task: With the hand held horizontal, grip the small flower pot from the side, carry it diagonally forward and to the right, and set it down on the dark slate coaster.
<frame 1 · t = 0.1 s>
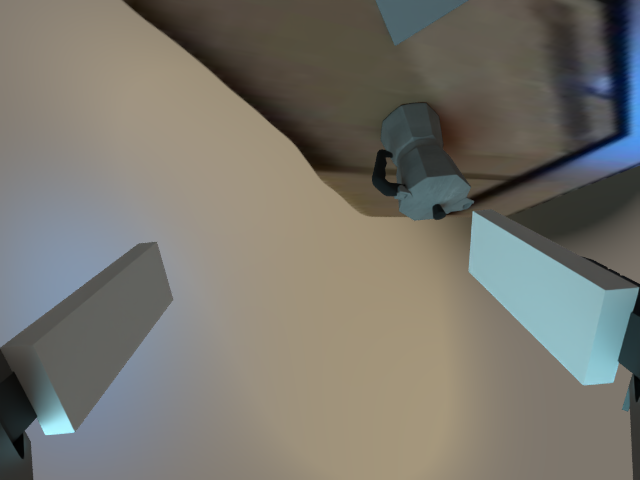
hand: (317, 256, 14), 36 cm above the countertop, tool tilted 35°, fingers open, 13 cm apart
coffeepot: (402, 124, 53), on the countertop
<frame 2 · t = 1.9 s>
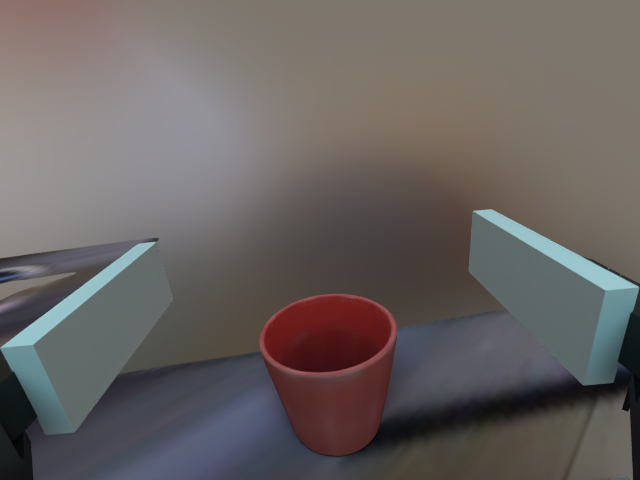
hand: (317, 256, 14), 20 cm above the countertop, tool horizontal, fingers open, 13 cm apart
flower pot: (336, 418, 30), on the countertop
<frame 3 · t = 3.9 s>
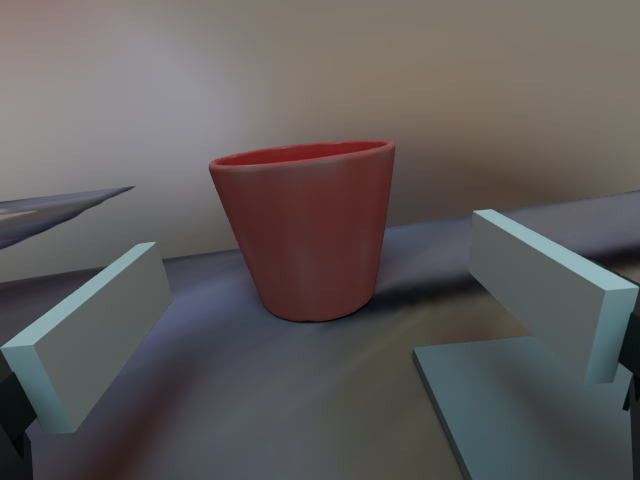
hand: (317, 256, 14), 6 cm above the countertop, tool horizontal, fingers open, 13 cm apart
flower pot: (317, 294, 24), on the countertop
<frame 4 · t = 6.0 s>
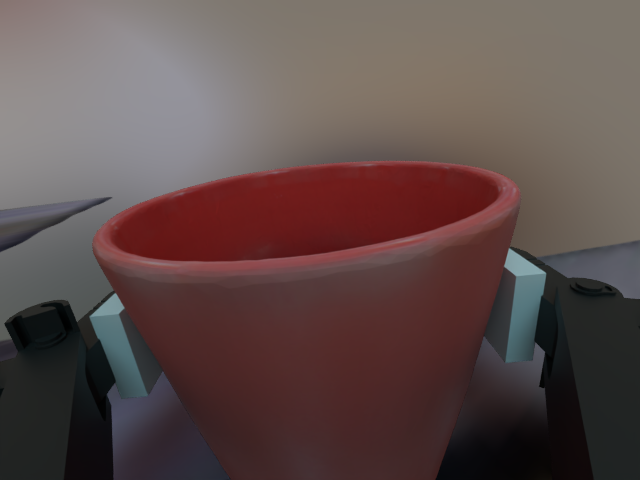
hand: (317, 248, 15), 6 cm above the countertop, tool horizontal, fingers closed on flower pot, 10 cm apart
flower pot: (333, 434, 13), on the countertop, touching gripper
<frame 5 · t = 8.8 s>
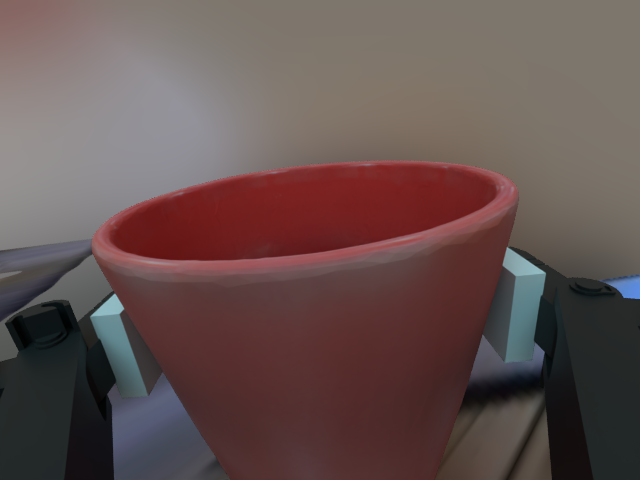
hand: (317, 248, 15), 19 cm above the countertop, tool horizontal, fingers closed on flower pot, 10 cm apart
flower pot: (333, 433, 13), point 12 cm above the countertop, touching gripper
when the fingers open (8 cm above the countertop, at t = 11.5 s): flower pot drops 1 cm, resting on slate coaster.
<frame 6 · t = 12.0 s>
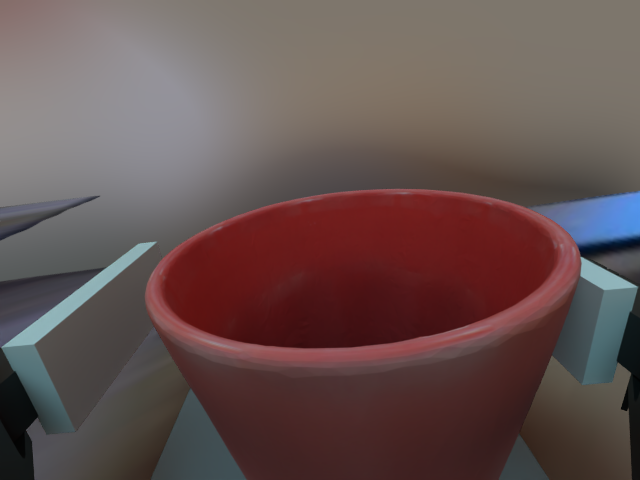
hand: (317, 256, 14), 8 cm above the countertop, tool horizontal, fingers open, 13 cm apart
slate coaster: (338, 465, 14), on the countertop
flower pot: (368, 465, 13), resting on slate coaster, touching gripper
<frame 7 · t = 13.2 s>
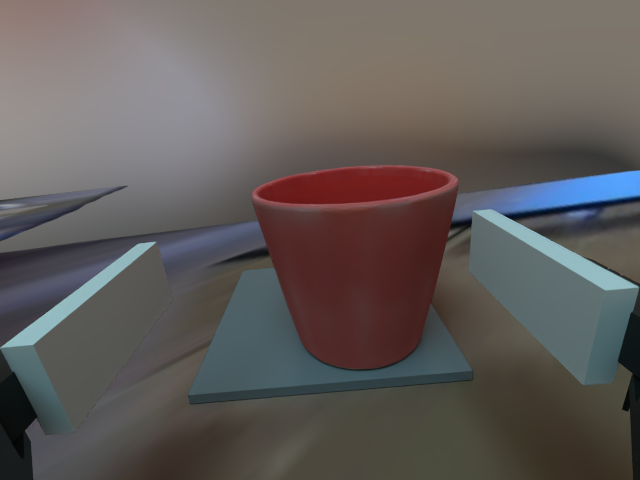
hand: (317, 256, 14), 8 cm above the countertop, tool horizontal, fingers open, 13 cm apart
slate coaster: (325, 313, 25), on the countertop
flower pot: (359, 331, 22), resting on slate coaster
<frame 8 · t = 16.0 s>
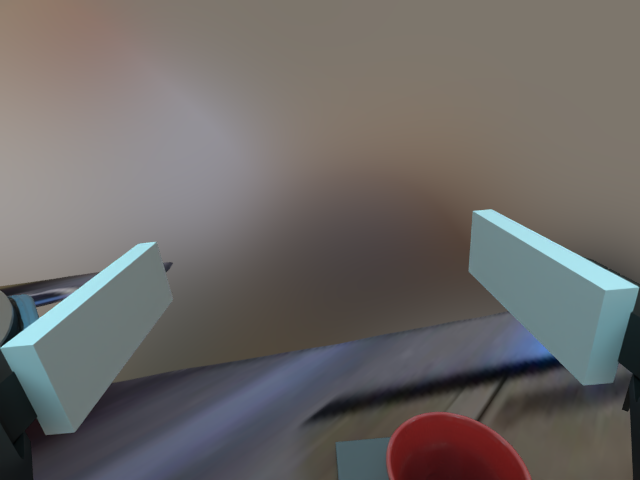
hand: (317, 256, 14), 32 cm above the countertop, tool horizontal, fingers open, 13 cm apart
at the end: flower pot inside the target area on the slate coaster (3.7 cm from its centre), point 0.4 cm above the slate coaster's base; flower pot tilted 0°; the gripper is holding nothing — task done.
